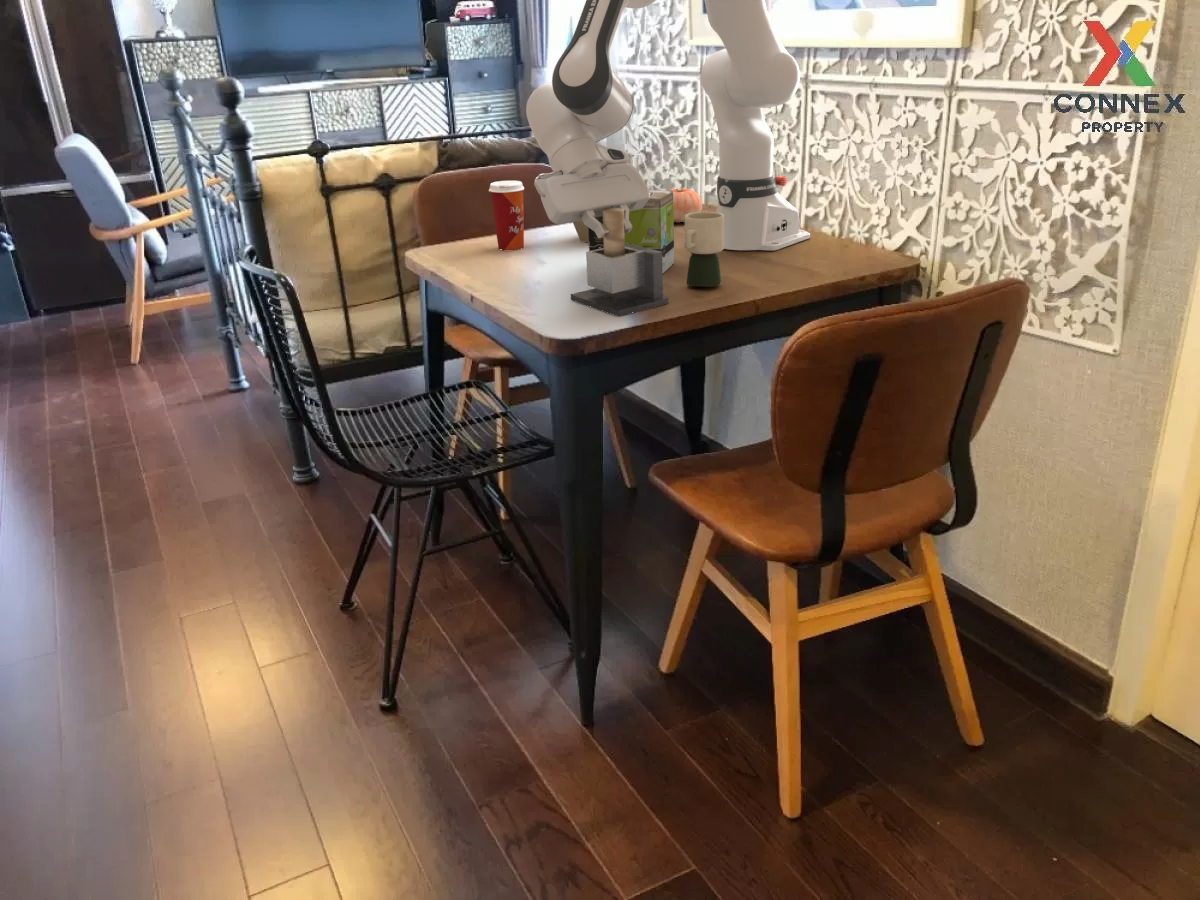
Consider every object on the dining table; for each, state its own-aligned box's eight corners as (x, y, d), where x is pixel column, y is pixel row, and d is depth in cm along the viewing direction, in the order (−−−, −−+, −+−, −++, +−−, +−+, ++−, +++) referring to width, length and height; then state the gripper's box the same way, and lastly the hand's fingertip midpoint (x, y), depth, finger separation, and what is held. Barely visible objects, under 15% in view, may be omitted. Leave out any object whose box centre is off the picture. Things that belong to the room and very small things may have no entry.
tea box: (675, 263, 188) (674, 188, 182) (661, 276, 180) (661, 198, 173) (604, 260, 193) (602, 187, 187) (588, 272, 184) (585, 196, 178)
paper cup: (523, 252, 202) (518, 186, 196) (489, 251, 204) (483, 186, 198) (532, 243, 209) (528, 179, 203) (499, 243, 211) (494, 179, 205)
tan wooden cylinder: (616, 259, 164) (615, 207, 160) (629, 262, 161) (628, 210, 158) (600, 262, 162) (598, 210, 158) (612, 266, 160) (611, 213, 156)
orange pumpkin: (710, 219, 226) (711, 185, 222) (685, 227, 218) (685, 193, 215) (673, 215, 232) (673, 182, 229) (648, 223, 224) (647, 189, 221)
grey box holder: (619, 288, 173) (617, 239, 169) (668, 303, 163) (667, 252, 159) (570, 299, 167) (568, 249, 164) (618, 316, 157) (616, 263, 153)
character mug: (704, 277, 178) (704, 208, 172) (736, 282, 174) (737, 211, 168) (670, 290, 171) (670, 218, 165) (703, 296, 166) (703, 222, 161)
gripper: (536, 163, 154) (573, 231, 151) (633, 150, 165) (669, 213, 162) (524, 187, 159) (559, 254, 156) (618, 173, 170) (653, 235, 167)
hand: (616, 233), depth 159 cm, fingers closed on tan wooden cylinder, 4 cm apart
